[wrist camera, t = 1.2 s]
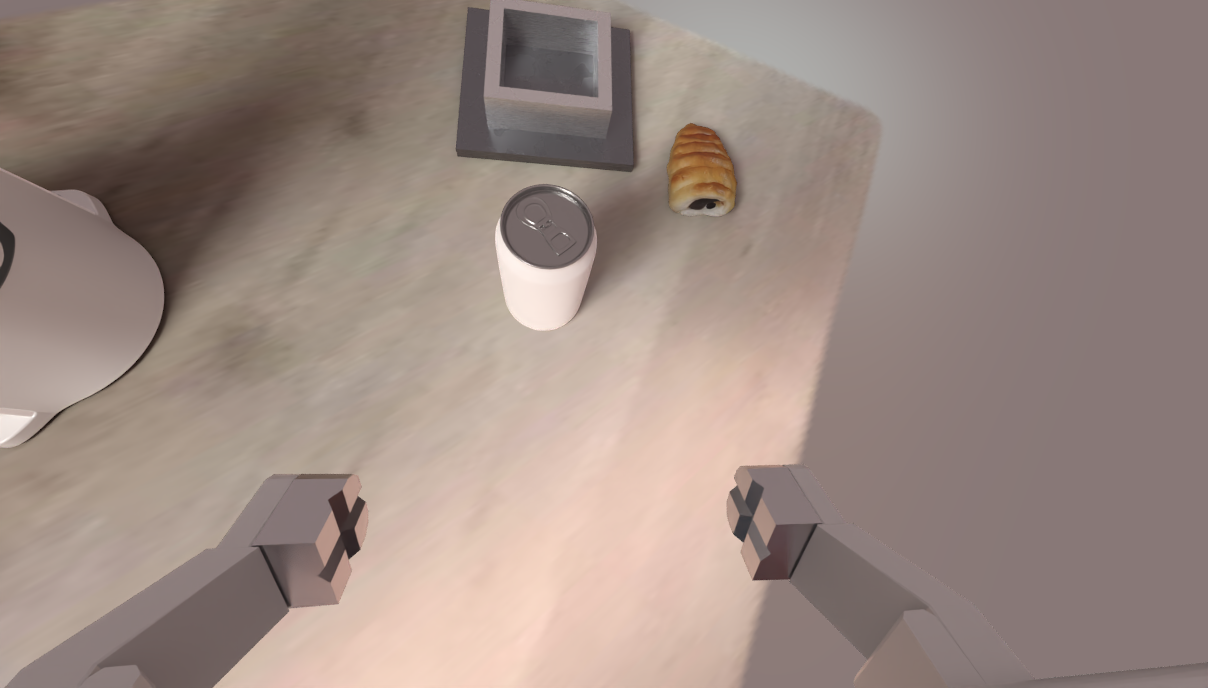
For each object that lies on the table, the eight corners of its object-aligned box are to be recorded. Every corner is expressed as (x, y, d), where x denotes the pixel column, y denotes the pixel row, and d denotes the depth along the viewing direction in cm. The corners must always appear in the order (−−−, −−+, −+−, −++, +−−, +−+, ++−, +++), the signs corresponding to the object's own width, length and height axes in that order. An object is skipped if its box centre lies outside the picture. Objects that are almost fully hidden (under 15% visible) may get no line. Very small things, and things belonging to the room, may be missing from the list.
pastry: (658, 134, 44) (670, 105, 40) (722, 139, 45) (739, 111, 42) (666, 218, 42) (679, 195, 38) (732, 221, 43) (751, 199, 39)
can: (547, 247, 39) (552, 159, 28) (596, 300, 38) (623, 233, 27) (488, 291, 37) (468, 216, 26) (539, 347, 37) (542, 297, 25)
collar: (457, 156, 40) (448, 119, 36) (469, 17, 44) (462, -31, 40) (631, 171, 42) (642, 139, 38) (627, 38, 46) (637, -5, 42)
